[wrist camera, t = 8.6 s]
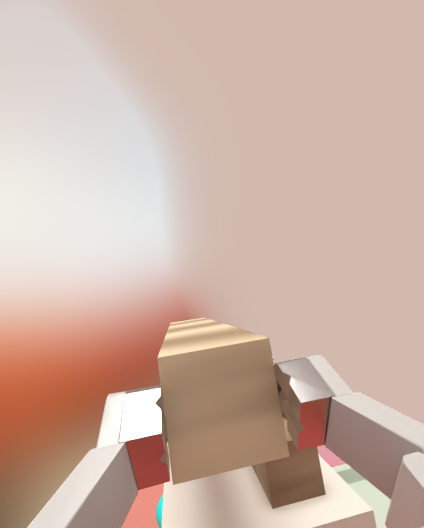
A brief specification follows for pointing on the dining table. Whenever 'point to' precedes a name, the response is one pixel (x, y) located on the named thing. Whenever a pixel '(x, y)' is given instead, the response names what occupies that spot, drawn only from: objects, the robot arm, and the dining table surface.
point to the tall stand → (260, 504)
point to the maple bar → (219, 399)
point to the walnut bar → (291, 475)
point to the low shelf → (366, 492)
